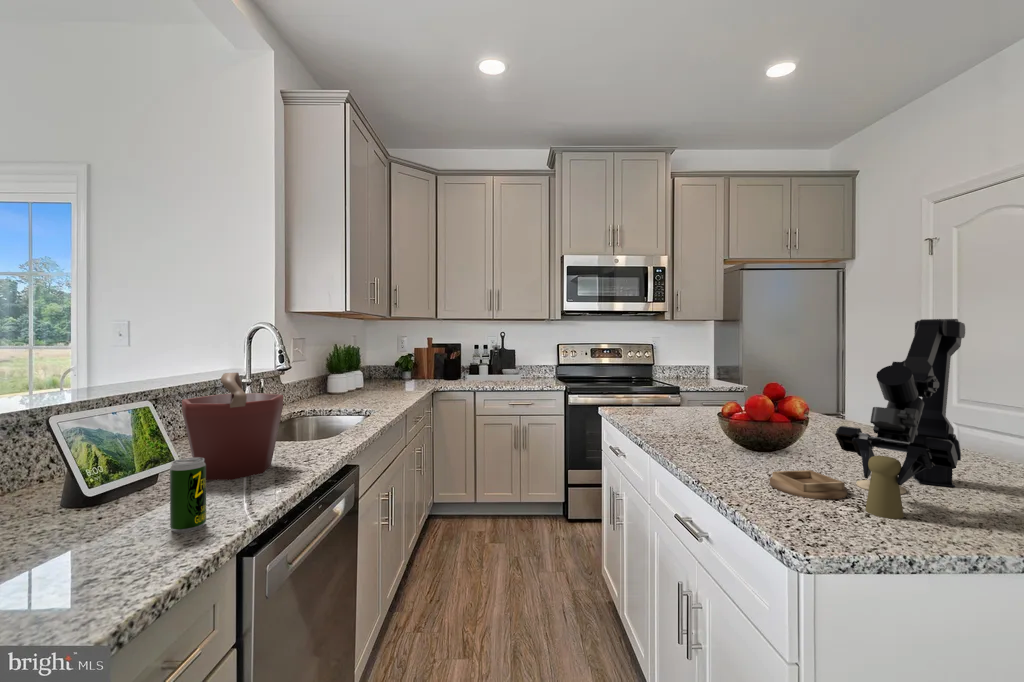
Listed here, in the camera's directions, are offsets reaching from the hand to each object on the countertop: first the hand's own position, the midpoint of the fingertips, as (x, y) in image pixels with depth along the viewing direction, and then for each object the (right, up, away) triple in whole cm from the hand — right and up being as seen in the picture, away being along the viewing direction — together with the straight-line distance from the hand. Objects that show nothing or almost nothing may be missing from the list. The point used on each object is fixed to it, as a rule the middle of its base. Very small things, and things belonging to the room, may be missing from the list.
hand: (881, 480), depth 93 cm
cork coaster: (+12, -6, +17) cm, 22 cm away
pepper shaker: (+1, -7, +1) cm, 7 cm away
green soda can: (-130, -7, -7) cm, 130 cm away
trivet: (-5, -6, +16) cm, 18 cm away
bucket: (-143, -6, +29) cm, 146 cm away
